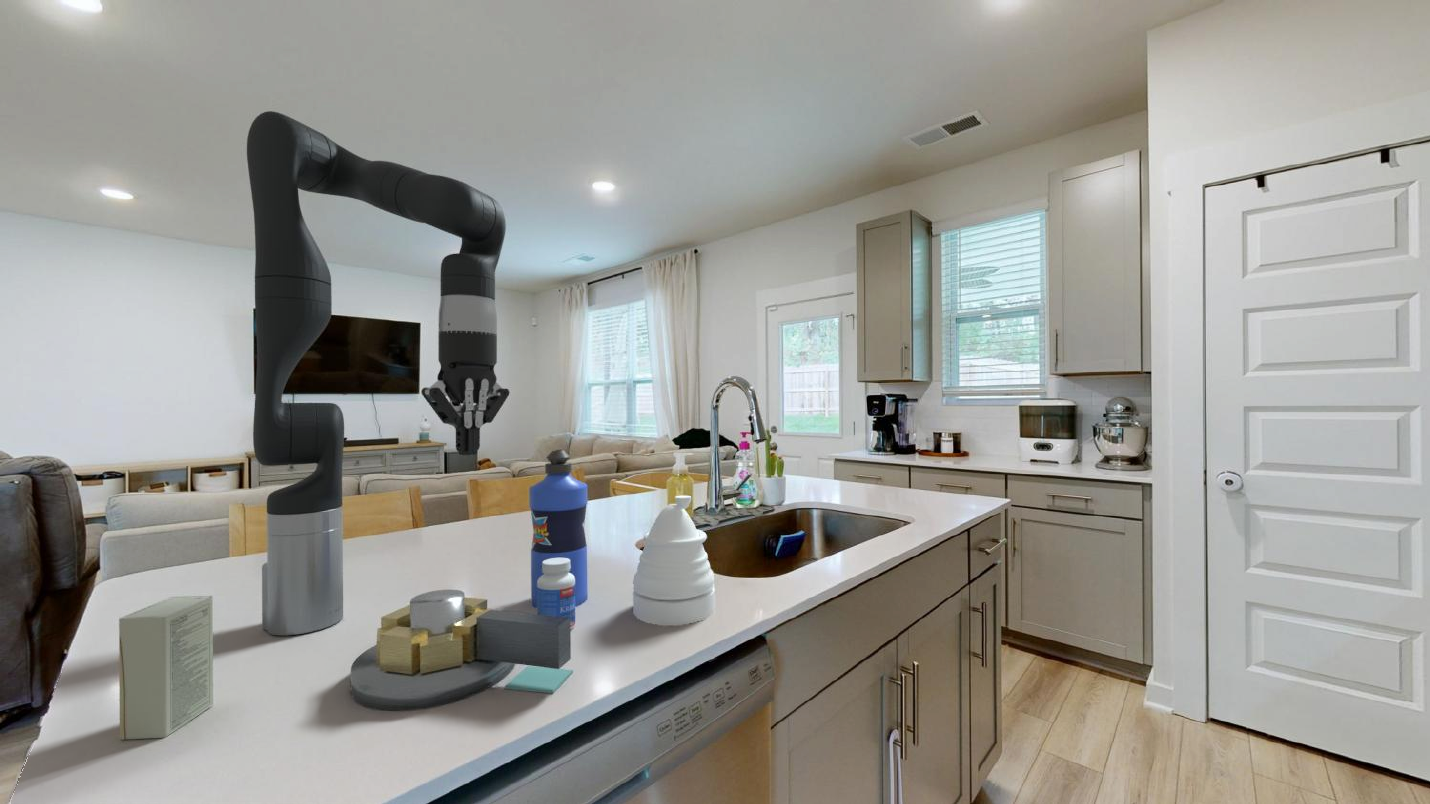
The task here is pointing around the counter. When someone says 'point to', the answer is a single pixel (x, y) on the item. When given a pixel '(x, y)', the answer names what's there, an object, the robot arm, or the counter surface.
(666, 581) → the honey pot
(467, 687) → the housing
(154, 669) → the skincare box
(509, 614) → the clamp assembly
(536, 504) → the blue bottle
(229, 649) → the counter surface
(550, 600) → the pill bottle
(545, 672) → the pad
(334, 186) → the robot arm
